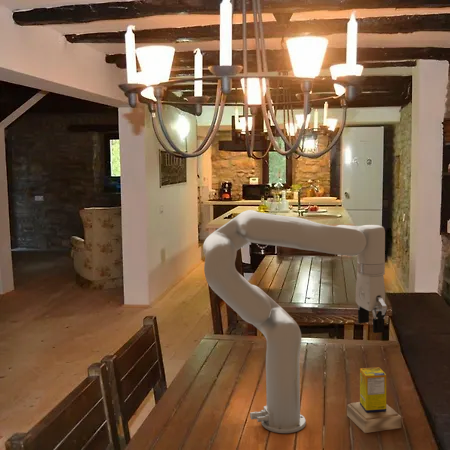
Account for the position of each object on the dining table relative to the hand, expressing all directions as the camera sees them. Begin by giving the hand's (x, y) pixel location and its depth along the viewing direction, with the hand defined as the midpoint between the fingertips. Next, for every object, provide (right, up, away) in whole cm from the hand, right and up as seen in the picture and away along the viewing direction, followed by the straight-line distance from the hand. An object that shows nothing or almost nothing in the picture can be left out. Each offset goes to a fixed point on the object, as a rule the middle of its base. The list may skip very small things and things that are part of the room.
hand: (370, 327), depth 160 cm
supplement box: (0, -23, -1) cm, 23 cm away
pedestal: (+1, -27, 0) cm, 27 cm away
